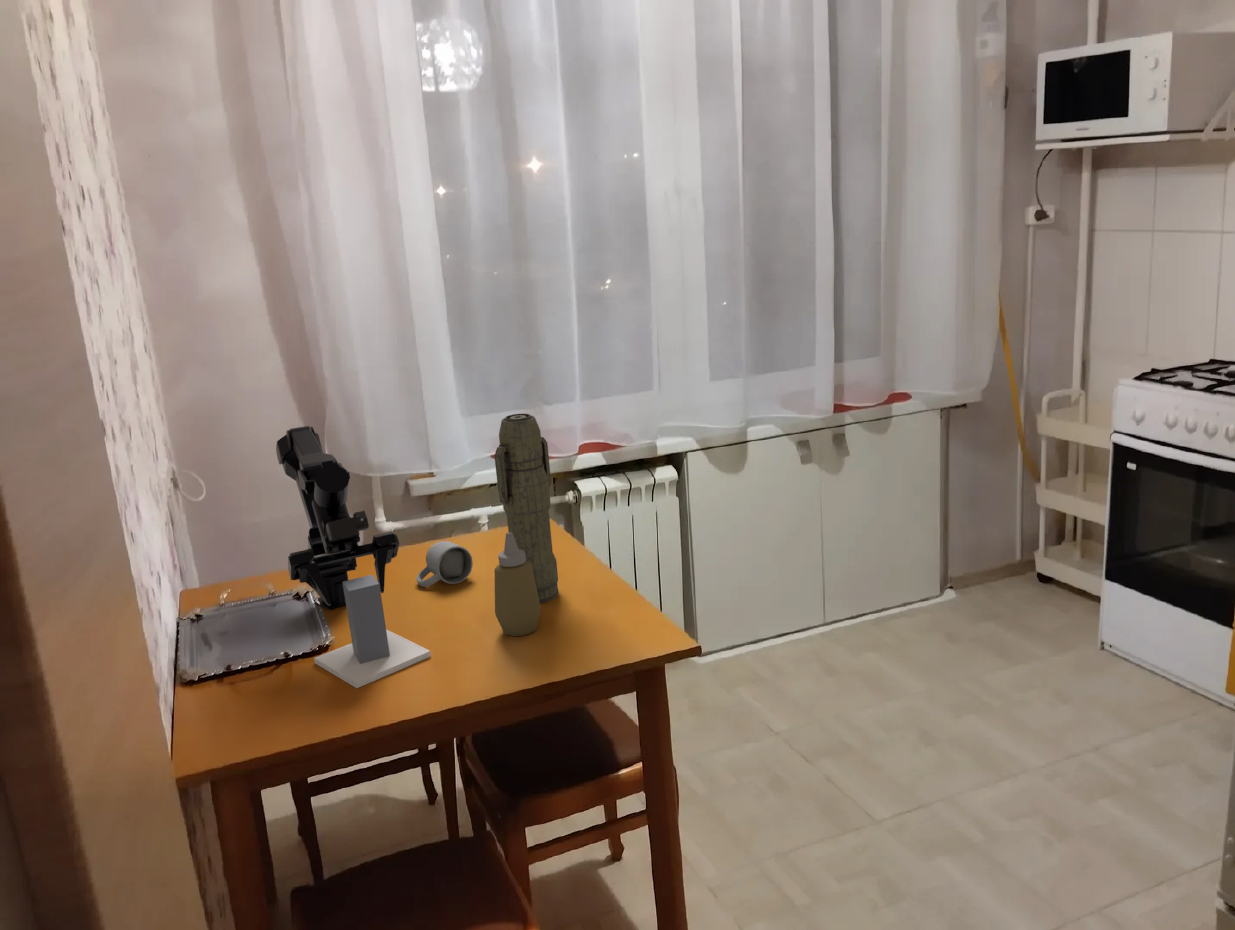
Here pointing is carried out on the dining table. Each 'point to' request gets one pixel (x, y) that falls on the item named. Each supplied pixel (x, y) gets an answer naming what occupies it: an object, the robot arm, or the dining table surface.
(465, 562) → the ceramic mug
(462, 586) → the dining table surface
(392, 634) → the white plate
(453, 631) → the dining table surface
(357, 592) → the tall block
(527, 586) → the squeeze bottle
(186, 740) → the dining table surface
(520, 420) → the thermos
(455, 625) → the dining table surface
